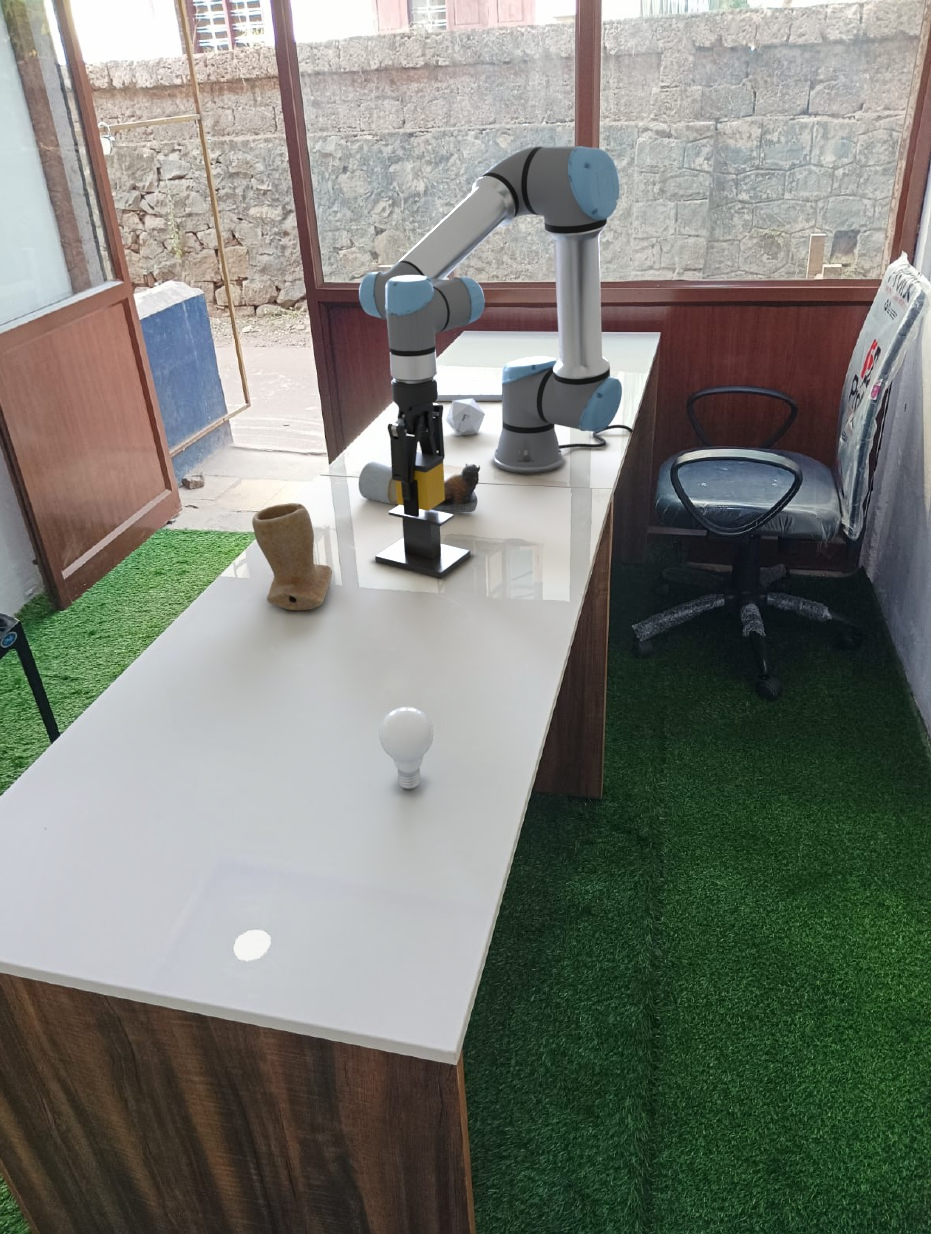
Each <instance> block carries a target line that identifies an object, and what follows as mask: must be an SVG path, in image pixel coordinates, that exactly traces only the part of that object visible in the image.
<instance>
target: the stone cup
mask: <svg viewBox="0 0 931 1234" xmlns="http://www.w3.org/2000/svg"><path fill="white" fill-rule="evenodd" d="M311 519H312V518H311V516H310V513H309V511H308V509H307V508H306V506H304V505H303V504H301V503H298V502H289V503H288V502H287V503H281V504H276V505H272V506H269V507H266V508H263V509H261V510H259V511H257V512H256V513H255V514H254V516H253V517H252V520H251V523H252V528H253V529H252V530H253V532H254V533H253V534H254V537H255V540H256V543H257V545H258V547H259V548H260V550H261V552H262V554H263V555H264V558H265V560H266V561H267V563H268V564H269V567H270V569H271V571H272V573H273V579H272V582H271V584H270V588H269V590H268V595H267V597H266V601H267V602H268V603H269V604H271V605H274V606H276V607H279V608H282V609H286V610H289V611H307V610H312V609H315V608H318V607H320V606H321V605H323V603H324V600H325V598H326V596H327V593H328V590H329V587H330V584H331V579H332V574H333V571H332V567H331V566H329V565H325V564H317V563H314V561H315V560H314V545H315V544H314V542H315V533H314V527H313V523H312V520H311Z"/></svg>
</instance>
